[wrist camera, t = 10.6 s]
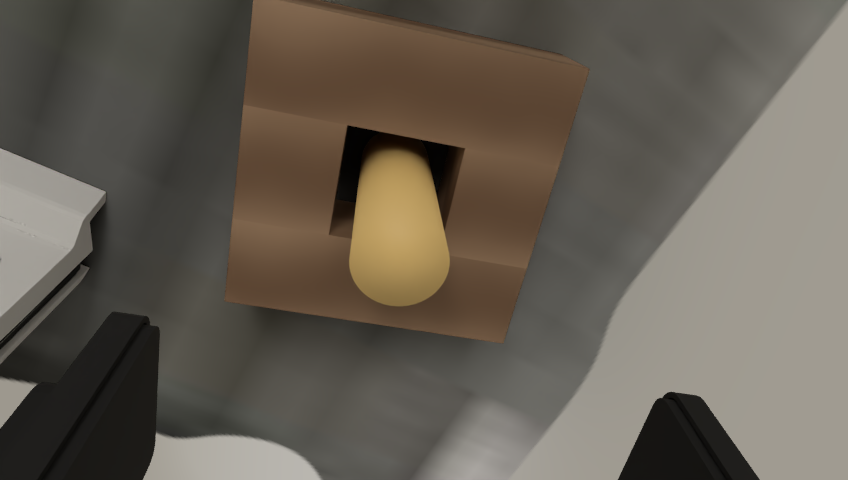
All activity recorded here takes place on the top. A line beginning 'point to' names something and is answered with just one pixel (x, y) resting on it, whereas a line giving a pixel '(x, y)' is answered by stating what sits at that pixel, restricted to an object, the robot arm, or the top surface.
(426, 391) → the top surface
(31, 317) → the white plastic device case
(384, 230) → the peg
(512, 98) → the hole block
